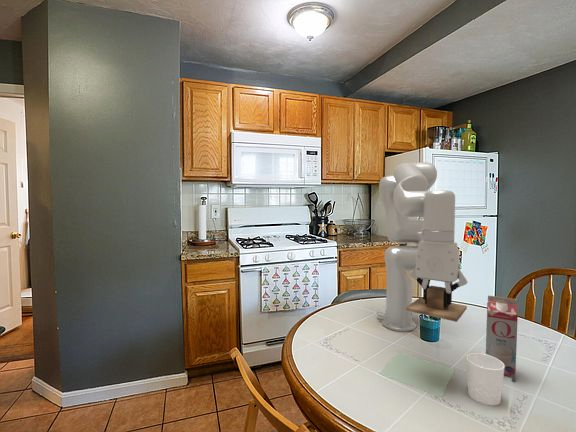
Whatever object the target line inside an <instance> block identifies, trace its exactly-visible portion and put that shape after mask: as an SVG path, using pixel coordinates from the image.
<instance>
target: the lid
mask: <svg viewBox="0 0 576 432" xmlns="http://www.w3.org/2000/svg"><path fill="white" fill-rule="evenodd" d="M429 286H430V287H429V288H427V304H425V300H424V299H423V296H420V297H418V298H417V299H416V300H415V301H412V304H410V305H409V306H408V307H406V311H411V312H412V313H416V314H420V315H425V316H429V317H433V318H438V319H442V320H446V321H447V320H448V321H451V322H456V323H457V322H458V321H459V320H460V319H461V317H462V316H463V315H464V313H465V312H466V310H467V307H468V306H467V305H463V304H460V303H454V302H452V303H451V305H449V306H448V307H447V308H444V293H445V290H446V288H445V287H442V286H436V285H429Z"/></svg>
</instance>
